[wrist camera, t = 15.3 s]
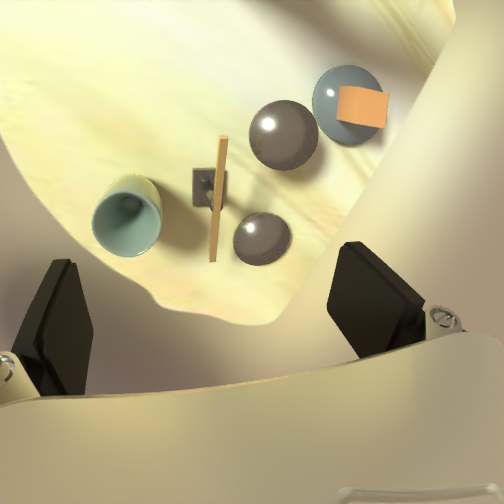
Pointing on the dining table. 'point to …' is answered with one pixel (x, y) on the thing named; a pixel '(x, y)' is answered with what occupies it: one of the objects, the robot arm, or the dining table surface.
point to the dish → (328, 103)
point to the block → (362, 106)
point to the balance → (272, 155)
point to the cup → (128, 216)
